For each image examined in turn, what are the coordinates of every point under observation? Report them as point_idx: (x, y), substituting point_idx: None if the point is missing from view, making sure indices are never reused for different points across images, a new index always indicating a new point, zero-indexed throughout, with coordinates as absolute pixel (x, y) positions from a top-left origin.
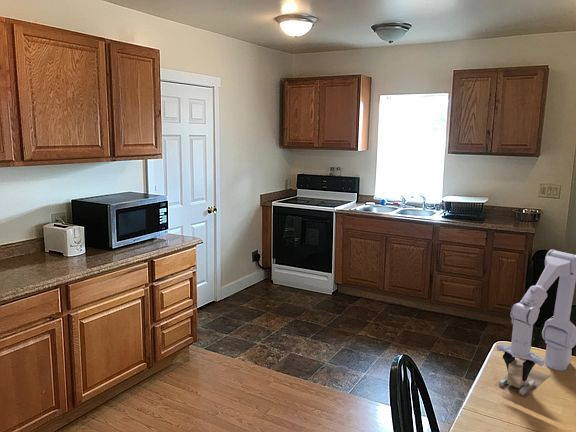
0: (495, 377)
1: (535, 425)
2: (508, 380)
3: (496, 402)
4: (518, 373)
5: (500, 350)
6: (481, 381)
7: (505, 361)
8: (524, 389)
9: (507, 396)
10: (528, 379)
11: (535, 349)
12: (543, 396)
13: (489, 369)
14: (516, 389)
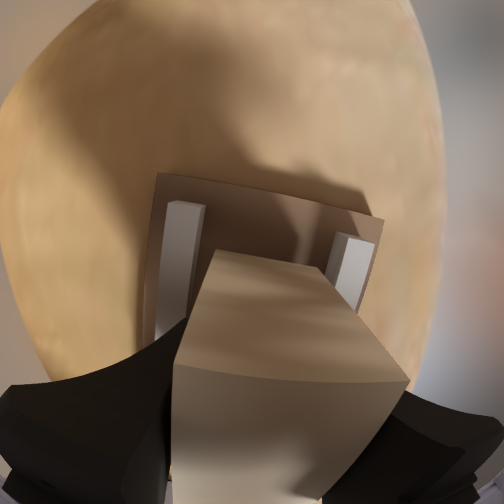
0: None
1: (98, 8)
2: (315, 276)
3: (315, 56)
4: (227, 312)
5: (499, 478)
6: (435, 252)
7: (437, 407)
8: (168, 236)
9: (277, 163)
10: None
11: None
12: (102, 307)
13: None
14: None
